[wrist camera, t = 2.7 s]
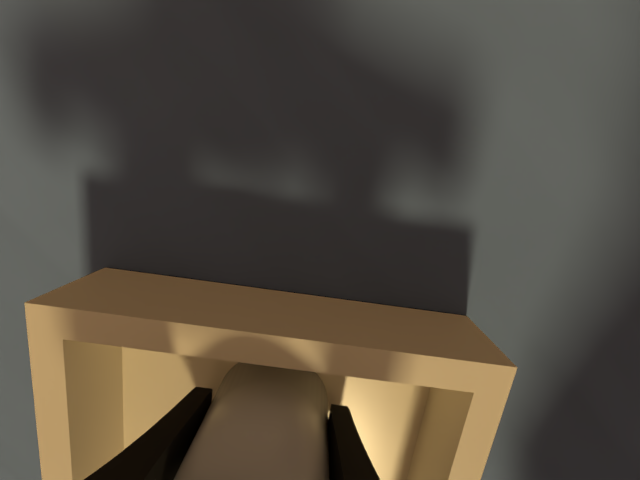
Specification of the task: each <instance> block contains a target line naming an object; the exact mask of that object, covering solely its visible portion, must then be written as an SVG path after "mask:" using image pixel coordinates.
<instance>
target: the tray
mask: <svg viewBox="0 0 640 480" xmlns="http://www.w3.org/2000/svg"><path fill="white" fill-rule="evenodd" d="M25 313H26V323H27V333H28V343H29V353H30V363H31V373H32V384H33V394H34V404H35V414H36V424H37V434H38V444H39V454H40V464H41V474H42V480H84V479H85V478H87V477H88V476H89V475H91V474H92V473H94V472H95V471H96V470H98V469H99V468H101V467H102V466H103V465H105V464H106V463H107V462H109V461H110V460H111V459H113V458H114V457H115V456H117V455H118V454H119V453H120V452H122V451H123V450H124V449H125V448H127V447H128V446H129V445H130V444H132V443H133V442H134V441H135V440H137V439H138V438H139V437H140V436H141V435H143V434H144V433H145V432H146V431H147V430H149V429H150V428H151V427H152V426H153V425H154V424H155V423H157V422H158V421H159V420H160V419H161V418H162V417H163V416H165V415H166V414H167V413H168V412H169V411H170V410H171V409H172V408H173V407H174V406H175V405H177V404H178V403H179V402H180V401H181V400H182V399H183V398H184V397H185V396H186V395H187V394H188V393H189V392H190V391H191V390H192V389H194V388H195V387H203V388H211V389H212V400H213V398H214V396H215V394H216V392H217V390H218V388H219V386H220V384H221V382H222V380H223V378H224V376H225V375H226V374H227V372H228V371H229V370H230V369H231V368H232V367H233V366H234V365H236V364H237V363H238V362H241V363H249V364H256V365H264V366H272V367H279V368H287V369H295V370H302V371H310V372H316V373H317V374H318V376H319V377H320V378H321V380H322V382H323V383H324V385H325V388H326V391H327V395H328V413H330V407H331V404H335V405H343V406H348V408H349V409H350V412H351V415H352V418H353V421H354V424H355V426H356V429H357V431H358V434H359V436H360V438H361V441H362V443H363V445H364V448H365V450H366V452H367V454H368V456H369V458H370V460H371V462H372V465H373V467H374V469H375V470H376V472H377V474H378V476H379V478H380V480H480V479H481V476H482V473H483V470H484V467H485V464H486V461H487V458H488V455H489V452H490V449H491V446H492V443H493V440H494V437H495V434H496V431H497V428H498V425H499V422H500V419H501V416H502V413H503V410H504V407H505V404H506V401H507V397H508V394H509V391H510V388H511V385H512V382H513V379H514V376H515V373H516V370H517V367H516V366H515V365H514V364H513V363H512V362H511V361H510V360H509V359H508V358H507V357H506V355H505V354H504V353H503V352H502V351H501V350H500V349H499V348H498V347H497V346H496V345H495V344H494V343H493V342H492V341H491V340H490V339H489V338H488V337H487V336H486V335H485V334H484V333H483V332H482V331H481V330H480V329H479V328H478V327H477V326H476V325H475V324H474V323H473V322H472V321H471V320H470V319H469V318H468V317H467V316H464V315H456V314H449V313H441V312H434V311H426V310H419V309H411V308H404V307H396V306H389V305H381V304H374V303H366V302H359V301H351V300H344V299H337V298H329V297H322V296H314V295H307V294H299V293H292V292H284V291H277V290H269V289H262V288H254V287H247V286H239V285H232V284H224V283H217V282H209V281H202V280H194V279H187V278H179V277H172V276H164V275H157V274H150V273H142V272H135V271H127V270H120V269H112V268H103V269H100V270H98V271H96V272H94V273H91V274H89V275H87V276H84V277H82V278H80V279H78V280H75V281H73V282H71V283H68V284H66V285H64V286H62V287H59V288H57V289H55V290H52V291H50V292H48V293H46V294H43V295H41V296H39V297H36V298H34V299H32V300H30V301H27V302H25Z"/></svg>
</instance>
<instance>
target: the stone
mask: <svg viewBox="0 0 640 480" xmlns="http://www.w3.org/2000/svg"><path fill="white" fill-rule="evenodd" d="M174 480H329V413H328V395H327V391H326V388H325V385H324V383H323V382H322V380H321V378H320V377H319V376H318V374H317V373H316V372H310V371H302V370H295V369H287V368H279V367H272V366H264V365H256V364H249V363H241V362H238V363H237V364H236V365H234V366H233V367H232V368H231V369H230V370H229V371H228V372H227V374H226V375H225V376H224V378H223V380H222V382H221V384H220V386H219V388H218V390H217V392H216V394H215V396H214V398H213V400H212V402H211V404H210V406H209V409H208V411H207V413H206V415H205V417H204V419H203V421H202V423H201V425H200V427H199V429H198V431H197V433H196V435H195V437H194V439H193V441H192V443H191V445H190V447H189V449H188V451H187V453H186V455H185V457H184V459H183V461H182V463H181V465H180V467H179V470H178V472H177V474H176V476H175V478H174Z"/></svg>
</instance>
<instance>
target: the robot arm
mask: <svg viewBox="0 0 640 480" xmlns="http://www.w3.org/2000/svg"><path fill="white" fill-rule="evenodd" d="M211 402H212V389H211V388H203V387H195V388H194V389H192V390H191V391H190V392H189V393H188V394H187V395H186V396H185V397H184V398H183V399H182V400H181V401H180V402H179V403H178V404H177V405H175V406H174V407H173V408H172V409H171V410H170V411H169V412H168V413H167V414H166V415H165V416H163V417H162V418H161V419H160V420H159V421H158V422H157V423H155V424H154V425H153V426H152V427H151V428H150V429H149V430H147V431H146V432H145V433H144V434H143V435H141V436H140V437H139V438H138V439H137V440H135V441H134V442H133V443H132V444H130V445H129V446H128V447H127V448H125V449H124V450H123V451H122V452H120V453H119V454H118V455H117V456H115V457H114V458H113V459H111V460H110V461H109V462H107V463H106V464H105V465H103V466H102V467H101V468H99V469H98V470H96V471H95V472H94V473H92V474H91V475H89V476H88V477H87V478H85V479H84V480H174V478H175V476H176V474H177V472H178V470H179V467H180V465H181V463H182V461H183V459H184V457H185V455H186V453H187V451H188V449H189V447H190V445H191V443H192V441H193V439H194V437H195V435H196V433H197V431H198V429H199V427H200V425H201V423H202V421H203V419H204V417H205V415H206V413H207V411H208V409H209V406H210V404H211ZM329 480H380V478H379V476H378V474H377V472H376V470H375V469H374V467H373V465H372V462H371V460H370V458H369V456H368V454H367V452H366V450H365V448H364V445H363V443H362V441H361V438H360V436H359V434H358V431H357V429H356V426H355V424H354V421H353V418H352V415H351V412H350V409H349V408H348V406H343V405H335V404H331V407H330V413H329Z"/></svg>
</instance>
